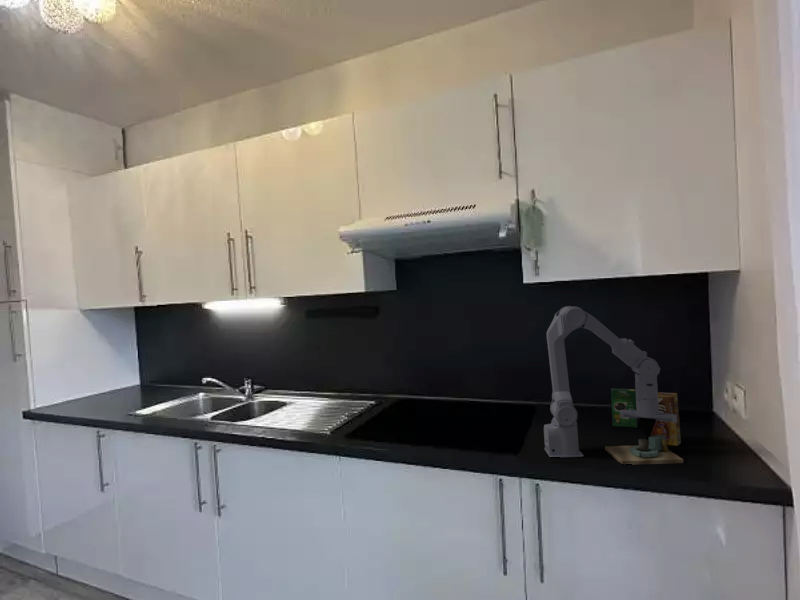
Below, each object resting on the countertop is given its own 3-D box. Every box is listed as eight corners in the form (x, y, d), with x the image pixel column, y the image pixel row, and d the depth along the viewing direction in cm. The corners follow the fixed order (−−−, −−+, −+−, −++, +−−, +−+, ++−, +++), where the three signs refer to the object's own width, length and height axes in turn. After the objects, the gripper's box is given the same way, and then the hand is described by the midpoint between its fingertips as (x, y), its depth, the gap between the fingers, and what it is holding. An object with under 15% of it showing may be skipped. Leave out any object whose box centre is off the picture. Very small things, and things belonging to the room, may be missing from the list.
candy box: (681, 442, 141) (678, 392, 141) (678, 446, 138) (674, 395, 138) (649, 438, 147) (646, 390, 147) (645, 442, 144) (642, 393, 144)
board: (621, 465, 126) (620, 446, 126) (605, 449, 139) (604, 433, 139) (683, 463, 125) (682, 444, 125) (660, 447, 138) (659, 431, 138)
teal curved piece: (646, 458, 126) (645, 445, 126) (625, 452, 132) (624, 439, 132) (674, 450, 131) (673, 437, 131) (652, 444, 137) (651, 432, 137)
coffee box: (638, 426, 161) (635, 388, 161) (638, 428, 159) (635, 390, 159) (613, 424, 165) (610, 387, 165) (612, 426, 162) (610, 389, 162)
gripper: (676, 396, 134) (679, 443, 134) (622, 393, 142) (624, 437, 142) (674, 401, 128) (677, 450, 128) (617, 397, 136) (620, 443, 136)
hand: (649, 444), depth 135 cm, fingers closed, pressing on teal curved piece
